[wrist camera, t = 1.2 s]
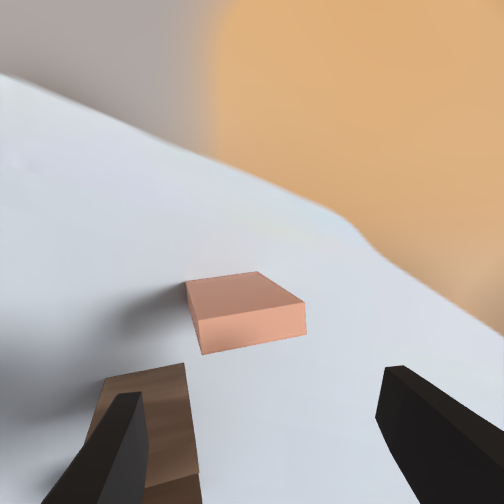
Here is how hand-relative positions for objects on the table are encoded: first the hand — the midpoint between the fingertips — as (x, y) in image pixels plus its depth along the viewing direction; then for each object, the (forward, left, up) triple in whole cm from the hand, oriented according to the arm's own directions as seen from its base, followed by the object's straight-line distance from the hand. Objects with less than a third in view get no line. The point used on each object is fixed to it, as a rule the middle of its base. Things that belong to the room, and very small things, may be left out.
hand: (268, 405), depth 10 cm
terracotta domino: (+1, -1, -13) cm, 13 cm away
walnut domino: (-7, +3, -13) cm, 15 cm away
